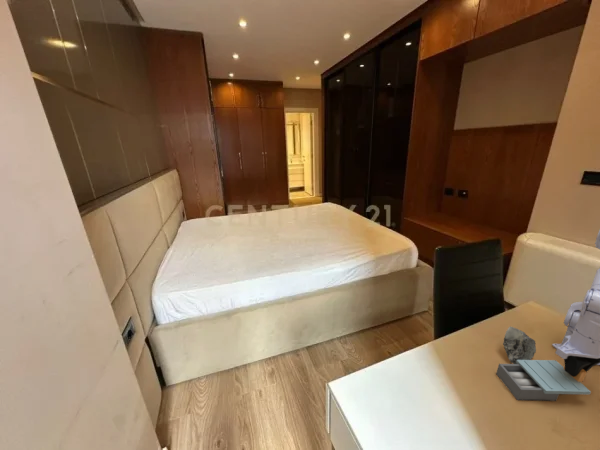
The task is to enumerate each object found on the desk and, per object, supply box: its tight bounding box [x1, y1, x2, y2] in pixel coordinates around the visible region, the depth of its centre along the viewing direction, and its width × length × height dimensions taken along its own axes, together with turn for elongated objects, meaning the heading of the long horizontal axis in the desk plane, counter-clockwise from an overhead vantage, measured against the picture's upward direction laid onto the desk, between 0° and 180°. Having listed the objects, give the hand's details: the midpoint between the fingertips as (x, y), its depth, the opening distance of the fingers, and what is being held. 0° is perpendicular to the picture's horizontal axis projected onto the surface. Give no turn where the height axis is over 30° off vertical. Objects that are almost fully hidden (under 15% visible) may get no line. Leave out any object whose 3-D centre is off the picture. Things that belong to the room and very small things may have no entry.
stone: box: [502, 325, 537, 364], centre depth 79 cm, size 10×10×10 cm
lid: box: [516, 359, 592, 396], centre depth 67 cm, size 12×10×4 cm
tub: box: [495, 363, 560, 402], centre depth 69 cm, size 10×8×4 cm
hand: (573, 372), depth 67 cm, fingers closed on lid, 2 cm apart
